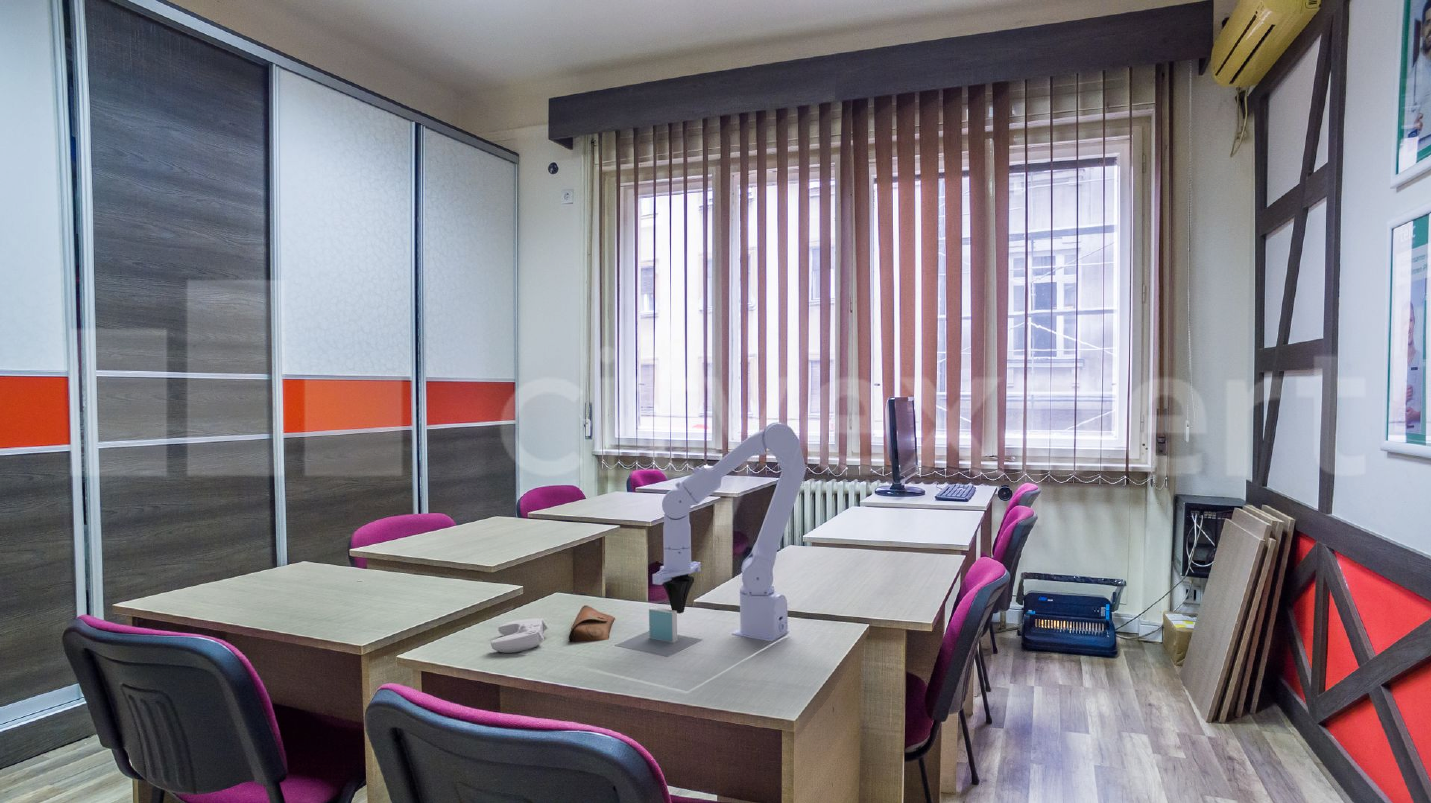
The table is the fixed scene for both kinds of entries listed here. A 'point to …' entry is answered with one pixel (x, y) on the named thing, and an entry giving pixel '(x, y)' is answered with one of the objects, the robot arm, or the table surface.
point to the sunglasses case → (591, 626)
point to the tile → (663, 624)
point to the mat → (658, 644)
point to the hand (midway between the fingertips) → (678, 612)
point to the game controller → (519, 635)
